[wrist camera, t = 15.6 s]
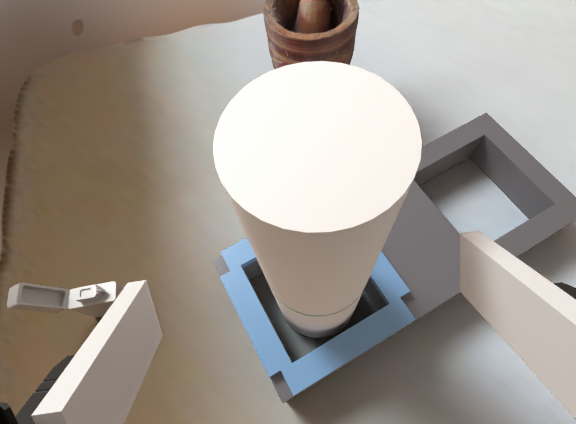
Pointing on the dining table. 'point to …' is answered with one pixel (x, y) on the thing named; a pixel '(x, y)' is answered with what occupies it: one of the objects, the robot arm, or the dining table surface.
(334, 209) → the cylindrical container
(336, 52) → the mortar and pestle
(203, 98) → the dining table surface
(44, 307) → the lighter
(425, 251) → the socket rack
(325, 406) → the dining table surface
